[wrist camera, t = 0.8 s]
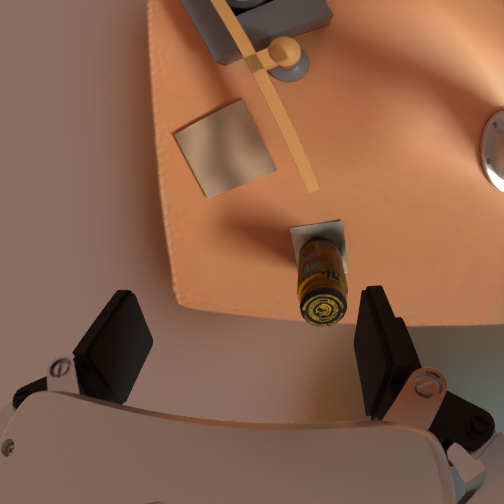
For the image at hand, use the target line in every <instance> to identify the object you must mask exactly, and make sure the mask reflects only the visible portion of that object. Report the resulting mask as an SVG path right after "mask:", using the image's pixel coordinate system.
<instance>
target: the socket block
mask: <svg viewBox="0 0 504 504" xmlns="http://www.w3.org/2000/svg"><path fill="white" fill-rule="evenodd" d="M180 1H181V3H182V4H183V6H184V8H185V10H186V11H187V13H188V15H189V16H190V18H191V20H192V21H193V23H194V25H195V27H196V28H197V30H198V32H199V33H200V35H201V37H202V39H203V41H204V42H205V44H206V46H207V48H208V49H209V51H210V53H211V55H212V57H213V58H214V60H215V62H217V63H220V64H222V65H224V66H227V65H229V64H231V63H233V62H235V61H237V60H239V59H241V58H243V55H242V53H241V51H240V49H239V48H238V46H237V44H236V42H235V41H234V39H233V37H232V35H231V34H230V32H229V30H228V28H227V27H226V25H225V23H224V22H223V20H222V18H221V17H220V15H219V13H218V12H217V10H216V9H215V7H214V5H213V4H212V2H211V1H210V0H180ZM332 16H333V14H332V12H331V10H330V9H329V7H328V5H327V4H326V2H325V1H324V0H274V1H272V2H269V3H266V4H264V5H261V6H259V7H256V8H254V9H252V10H249V11H247V12H245V13H242V14H240V15H238V16H236V18H237V19H238V21H239V23H240V24H241V26H242V28H243V30H244V31H245V33H246V35H247V36H248V38H249V40H250V42H251V43H252V45H253V47H254V49H255V51H259V50H261V49H263V48H266V47H268V46H269V45H270V43H271V42H272V41H273V40H274V39H276V38H278V37H290V38H291V37H294V36H296V35H299V34H302V33H305V32H308V31H311V30H314V29H317V28H320V27H323V26H327V25H329V23H330V21H331V18H332ZM300 49H301V48H300ZM308 65H309V61H308V57H307V55H306V53H305V52H304V51H303V50H302V49H301V56H300V59H299V61H298V63H297V64H295V65H294V66H292V67H287V68H285V67H280V66H277V67H274V68H272V69H269V72H270V73H271V75H272V76H274V77H275V78H276V79H278V80H281V81H285V82H292V81H296V80H298V79H300V78H302V77H303V76H304V75H305V73H306V72H307V70H308Z"/></svg>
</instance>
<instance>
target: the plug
mask: <svg viewBox="0 0 504 504" xmlns="http://www.w3.org/2000/svg"><path fill="white" fill-rule="evenodd" d="M226 2H227V3H228V5H229V6H230V7H232V8H236V9H237V10H238V11H239V12H240V13H245V12H247V11H249V10H252V9H254V8H256V7H259V6H261V5H264V4H266V3H269V2H270V0H226Z"/></svg>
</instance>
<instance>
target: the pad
mask: <svg viewBox="0 0 504 504" xmlns="http://www.w3.org/2000/svg"><path fill="white" fill-rule="evenodd" d="M174 136H175V138H176V140H177V142H178V143H179V145H180V147H181V149H182V151H183V153H184V155H185V157H186V159H187V161H188V162H189V164H190V166H191V168H192V170H193V172H194V174H195V176H196V178H197V179H198V181H199V183H200V185H201V187H202V189H203V191H204V193H205V194H206V196H207V198H208V200H209V199H211V198H213V197H215V196H217V195H220V194H222V193H224V192H226V191H229V190H231V189H233V188H235V187H238V186H240V185H242V184H245V183H247V182H249V181H252V180H254V179H257V178H259V177H261V176H264V175H266V174H269V173H271V172H273V171H276V170H277V169H276V167H275V164H274V162H273V160H272V158H271V156H270V154H269V152H268V150H267V147H266V145H265V143H264V141H263V139H262V137H261V135H260V133H259V131H258V129H257V127H256V125H255V123H254V121H253V119H252V117H251V115H250V113H249V111H248V109H247V107H246V105H245V103H244V101H243V99H241V100H239V101H237V102H235V103H233V104H231V105H228V106H226V107H224V108H222V109H220V110H219V111H217V112H215V113H213V114H211V115H209V116H207V117H205V118H203V119H201V120H200V121H198V122H196V123H194V124H192V125H190V126H189V127H187V128H185V129H183V130H182V131H180V132H178V133H176V134H175V135H174Z"/></svg>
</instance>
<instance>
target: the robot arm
mask: <svg viewBox="0 0 504 504" xmlns="http://www.w3.org/2000/svg"><path fill="white" fill-rule="evenodd" d="M481 161H482V165H483V169H484V172H485V174H486V176H487V178H488V180H489V181H490V183H491V184H492V185H493V186H494V187H496V188H497V189H499V190H500V191H502V192H504V110H503V111H499V112H497V113H495V114H494V115H493V116H492V117H491V118H490V119H489V120H488V122H487V123H486V125H485V128H484V130H483V134H482V138H481ZM152 345H153V338H152V336H151V333H150V331H149V329H148V327H147V324H146V322H145V319H144V316H143V314H142V311H141V309H140V306H139V303H138V301H137V298H136V296H135V294H133V293H132V292H131V291H130V290H118V291H117V292H116V293H115V294H114V296H113V297H112V298H111V299H110V301H109V302H108V303H107V305H106V306H105V307H104V309H103V310H102V312H101V313H100V314H99V316H98V317H97V318H96V320H95V321H94V322H93V324H92V325H91V327H90V328H89V329H88V331H87V332H86V334H85V335H84V336H83V338H82V339H81V341H80V342H79V344H78V345H77V347H76V348H75V350H74V351H73V354H74V356H75V357H74V359H72V358H71V357H69V356H60V357H58V358H56V359H54V360H53V361H52V362H51V363H50V364H49V366H48V368H47V376H46V377H44V378H41V379H39V380H37V381H35V382H33V383H30V384H28V385H26V386H24V387H22V388H20V389H19V390H17V392H16V393H15V395H14V397H13V404H11V403H9V404H7V405H6V406H5V407H3V408H2V409H1V410H0V504H504V434H502V433H501V432H499V433H497V432H496V431H495V430H494V429H495V424H494V420H493V417H492V416H491V415H490V413H488V412H487V411H485V410H484V409H481V408H480V407H478V406H476V405H474V404H472V403H470V402H468V401H466V400H464V399H462V398H460V397H458V396H456V395H454V394H452V393H451V392H449V391H447V381H446V379H445V377H444V376H443V375H442V374H441V372H439V371H437V370H435V369H432V368H422V367H421V364H420V361H419V358H418V356H417V353H416V350H415V348H414V345H413V343H412V340H411V338H410V335H409V333H408V330H407V328H406V325H405V323H404V321H403V319H402V318H401V317H396V318H395V316H394V313H393V311H392V309H391V306H390V304H389V301H388V299H387V297H386V294H385V292H384V290H383V287H382V286H381V285H379V286H367V288H366V290H362V293H361V300H360V307H359V313H358V320H357V326H356V331H355V338H354V349H355V355H356V360H357V365H358V370H359V376H360V382H361V387H362V393H363V399H364V406H365V411H366V416H371V421H349V422H331V423H297V424H296V423H292V424H291V423H288V424H287V423H278V424H277V423H250V422H234V421H221V420H211V419H202V418H193V417H186V416H179V415H172V414H166V413H160V412H155V411H149V410H144V409H139V408H134V407H130V406H124V405H122V404H123V403H124V402H126V401H127V399H128V396H129V394H130V392H131V390H132V387H133V386H134V383H135V381H136V379H137V377H138V375H139V373H140V370H141V368H142V366H143V364H144V362H145V360H146V358H147V356H148V354H149V351H150V349H151V347H152ZM450 466H455V467H456V468H457V469H458V470H459V471H460V473H459V475H460V476H461V477H462V478H463V480H464V482H465V487H466V490H465V493H464V495H463V496H462V498H461V499H460V500H459V501H458V502H456V496H455V489H454V484H453V478H452V474H451V470H450Z"/></svg>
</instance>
